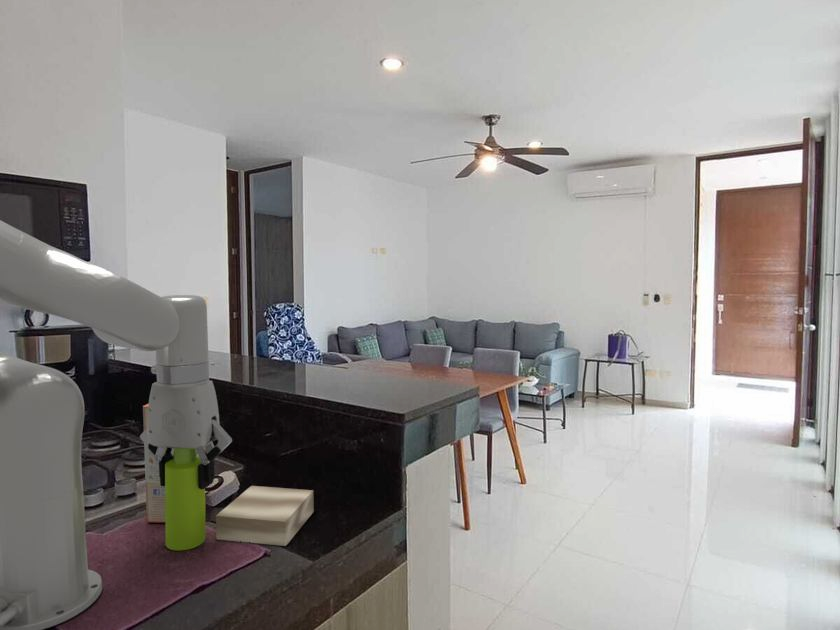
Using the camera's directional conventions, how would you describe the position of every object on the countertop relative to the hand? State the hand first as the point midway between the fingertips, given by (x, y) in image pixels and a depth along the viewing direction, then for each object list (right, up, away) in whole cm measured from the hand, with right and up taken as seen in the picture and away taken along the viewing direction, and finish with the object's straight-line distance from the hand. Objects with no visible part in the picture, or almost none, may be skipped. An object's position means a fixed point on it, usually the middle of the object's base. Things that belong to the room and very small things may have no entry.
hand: (187, 483), depth 85 cm
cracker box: (-7, -9, +13) cm, 17 cm away
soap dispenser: (0, -10, +1) cm, 10 cm away
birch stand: (+11, -9, +6) cm, 16 cm away
